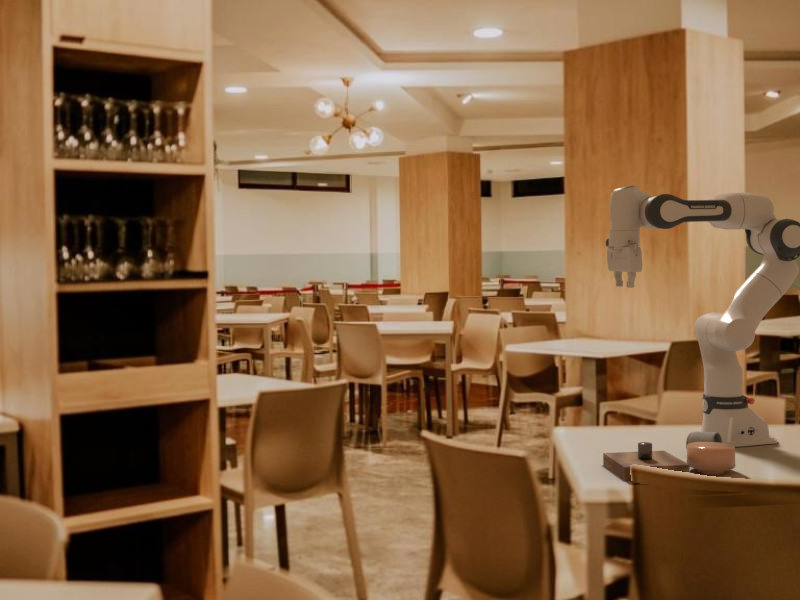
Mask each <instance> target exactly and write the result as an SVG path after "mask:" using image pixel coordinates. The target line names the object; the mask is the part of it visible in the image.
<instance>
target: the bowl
mask: <svg viewBox="0 0 800 600" xmlns="http://www.w3.org/2000/svg"><path fill="white" fill-rule="evenodd" d="M686 463H687V464H689V465H690V468H691V469H692V468H693V469H696V472H698V473H700V474H705V475H722V474H725V473H726V471H729V470H730V471H731V470H733V469H736V447H734V446H733V445H730V444H725V443H718V442H694V443H689V444H687V449H686Z"/></svg>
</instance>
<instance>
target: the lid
mask: <svg viewBox="0 0 800 600" xmlns="http://www.w3.org/2000/svg"><path fill="white" fill-rule="evenodd" d="M602 457H603V461H602V463H603V464H602V465H603V466H604V467H606V468H607V469H608V470H610V471H611V472H613V473H614V474H615V475H617V476H618V477H620V478H621V479H622V480H624V481H631V475H630V465H632V464H637V465H644V466H650V467H657V468H662V469H668V470H674V471H682V472H690V468H691V467H690V465H689V464H687V461H684V460H682V459H680V458H678V457H677V456H675V455H673V454H671V453H669V452H668V451H665V450H653V443H652V442H647V441H641V442H637V451H625V452H624V451H619V452H603V454H602ZM608 470H607V471H608ZM615 475H614V476H615ZM622 480H621V481H622ZM631 482H632V481H631Z"/></svg>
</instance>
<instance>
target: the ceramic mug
mask: <svg viewBox="0 0 800 600" xmlns="http://www.w3.org/2000/svg"><path fill="white" fill-rule="evenodd" d="M694 442H718V443H722V438H721V435H720V434H719V433H718V432H701V431H693V432H690V433H688V435H687V437H686V440H685V448H686V449H685V450H687V444H689V443H694Z"/></svg>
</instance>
